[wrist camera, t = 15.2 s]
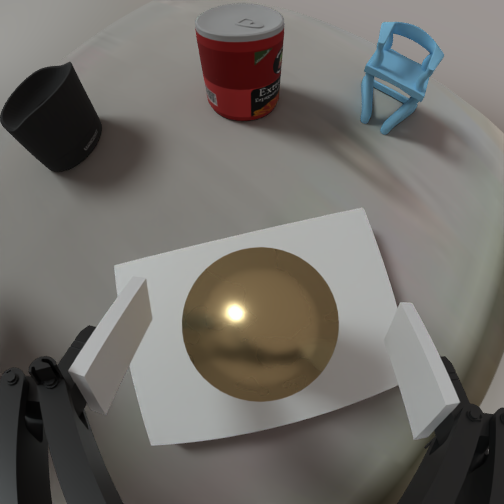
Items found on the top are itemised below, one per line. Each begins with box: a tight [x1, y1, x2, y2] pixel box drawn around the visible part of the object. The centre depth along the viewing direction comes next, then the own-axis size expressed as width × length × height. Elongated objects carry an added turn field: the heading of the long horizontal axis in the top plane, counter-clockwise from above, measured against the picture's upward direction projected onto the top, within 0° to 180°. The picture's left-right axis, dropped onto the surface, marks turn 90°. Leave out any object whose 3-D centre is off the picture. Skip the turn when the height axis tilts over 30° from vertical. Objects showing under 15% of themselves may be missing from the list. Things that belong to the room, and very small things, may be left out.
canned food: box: [195, 3, 284, 121], centre depth 24 cm, size 8×8×11 cm
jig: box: [114, 207, 398, 446], centre depth 21 cm, size 20×14×3 cm
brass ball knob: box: [182, 247, 339, 402], centre depth 16 cm, size 6×6×12 cm
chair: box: [361, 22, 444, 135], centre depth 24 cm, size 8×8×12 cm
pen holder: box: [0, 62, 101, 171], centre depth 24 cm, size 9×9×10 cm
